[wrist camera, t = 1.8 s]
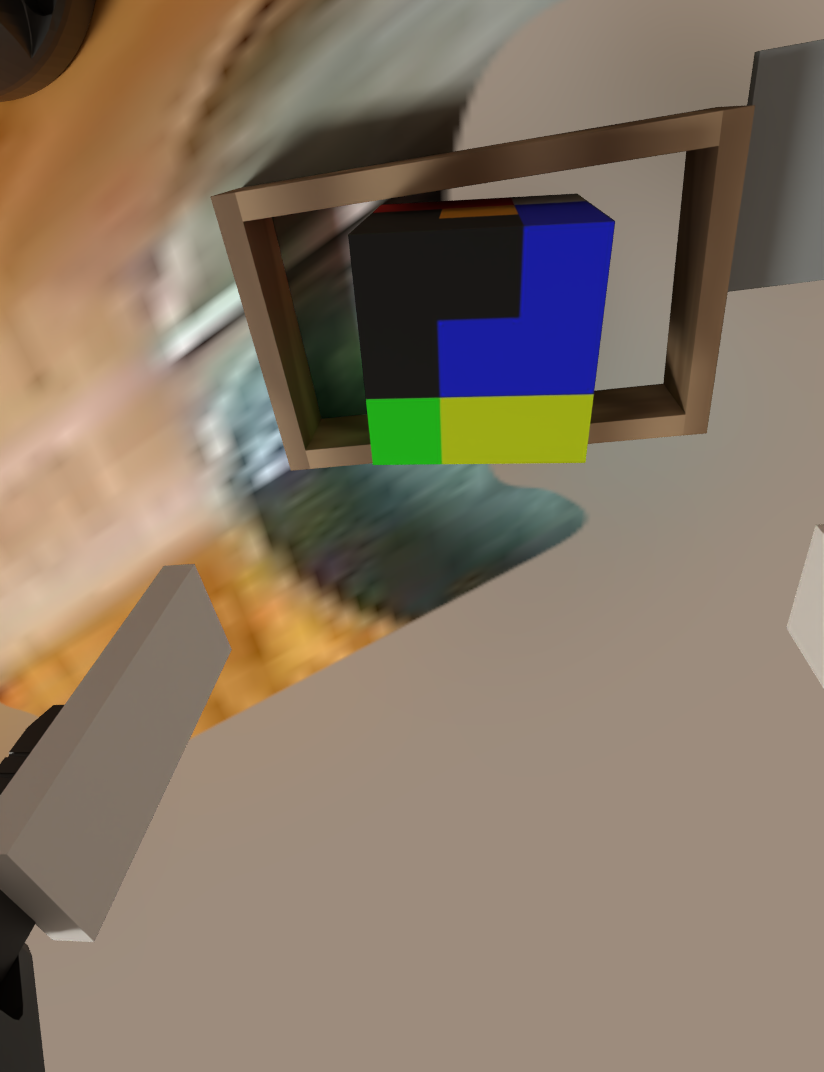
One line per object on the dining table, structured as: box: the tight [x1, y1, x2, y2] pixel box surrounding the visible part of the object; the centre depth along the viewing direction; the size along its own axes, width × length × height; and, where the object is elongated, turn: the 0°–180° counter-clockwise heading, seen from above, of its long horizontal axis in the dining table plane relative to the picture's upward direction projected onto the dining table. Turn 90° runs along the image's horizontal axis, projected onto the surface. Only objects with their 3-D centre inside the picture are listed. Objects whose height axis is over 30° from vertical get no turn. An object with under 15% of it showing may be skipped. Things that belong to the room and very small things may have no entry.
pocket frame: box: [211, 105, 755, 470], centre depth 31 cm, size 23×14×4 cm, turn 98°
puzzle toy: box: [348, 194, 615, 465], centre depth 29 cm, size 10×10×10 cm
